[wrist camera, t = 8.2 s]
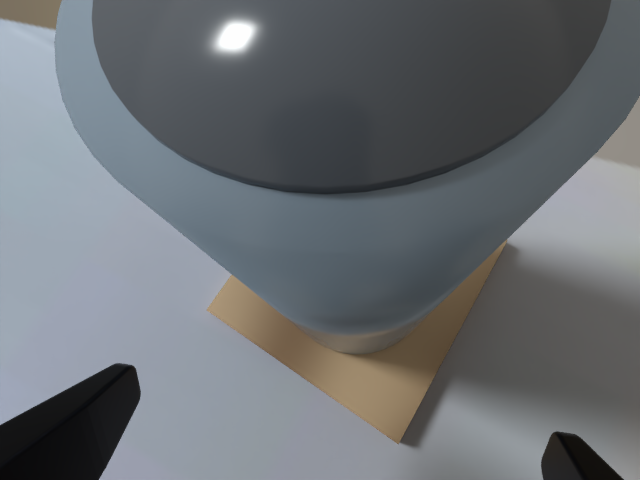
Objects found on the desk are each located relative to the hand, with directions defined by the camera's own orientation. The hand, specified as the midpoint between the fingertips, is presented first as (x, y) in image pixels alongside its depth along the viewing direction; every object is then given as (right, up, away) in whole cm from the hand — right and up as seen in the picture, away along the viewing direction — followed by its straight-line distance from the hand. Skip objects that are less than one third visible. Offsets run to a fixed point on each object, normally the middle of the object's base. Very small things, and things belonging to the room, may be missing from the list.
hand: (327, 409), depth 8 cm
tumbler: (+1, +2, +8) cm, 8 cm away
